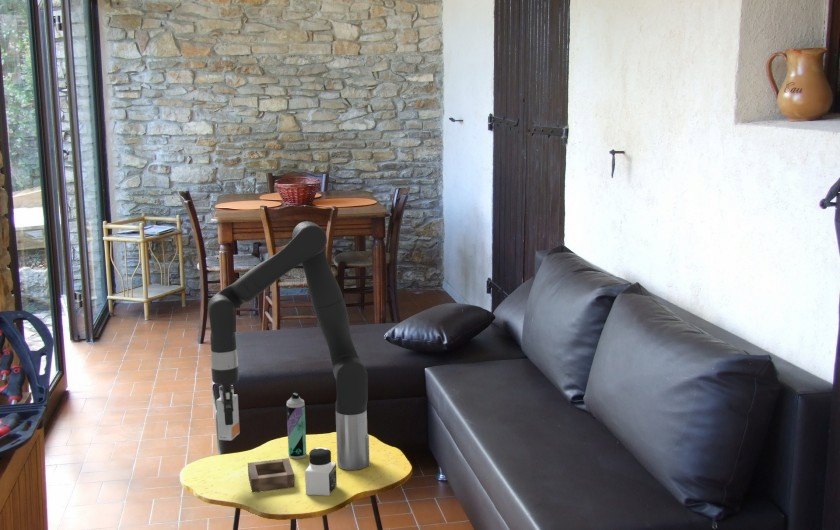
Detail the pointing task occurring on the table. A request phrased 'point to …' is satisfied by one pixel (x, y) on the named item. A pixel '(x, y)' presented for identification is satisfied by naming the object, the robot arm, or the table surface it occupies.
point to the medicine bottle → (320, 473)
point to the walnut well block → (271, 475)
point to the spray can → (296, 427)
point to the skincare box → (224, 430)
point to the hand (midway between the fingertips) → (228, 419)
